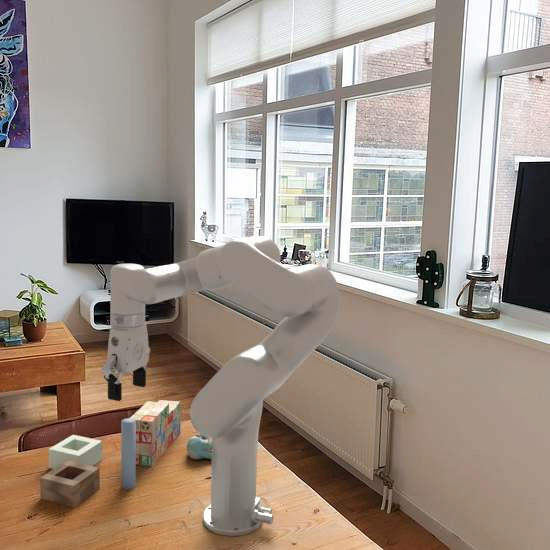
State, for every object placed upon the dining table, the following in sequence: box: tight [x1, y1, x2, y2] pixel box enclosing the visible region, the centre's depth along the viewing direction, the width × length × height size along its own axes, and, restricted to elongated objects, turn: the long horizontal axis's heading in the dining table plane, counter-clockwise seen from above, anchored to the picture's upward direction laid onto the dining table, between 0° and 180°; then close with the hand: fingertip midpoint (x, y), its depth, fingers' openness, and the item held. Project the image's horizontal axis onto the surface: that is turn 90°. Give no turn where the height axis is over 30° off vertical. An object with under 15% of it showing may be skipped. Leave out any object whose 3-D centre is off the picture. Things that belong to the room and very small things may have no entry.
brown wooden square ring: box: [39, 460, 101, 508], centre depth 135 cm, size 9×9×5 cm
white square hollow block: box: [48, 434, 104, 470], centre depth 148 cm, size 9×9×5 cm
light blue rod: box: [120, 417, 137, 490], centre depth 138 cm, size 3×3×16 cm
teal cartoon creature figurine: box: [186, 433, 213, 461], centre depth 156 cm, size 11×7×12 cm
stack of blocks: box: [129, 399, 181, 467], centre depth 158 cm, size 21×6×12 cm, turn 170°
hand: (127, 392), depth 135 cm, fingers open, 9 cm apart
